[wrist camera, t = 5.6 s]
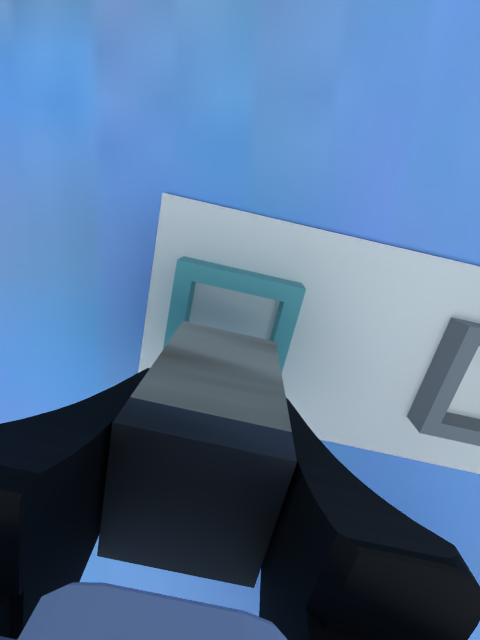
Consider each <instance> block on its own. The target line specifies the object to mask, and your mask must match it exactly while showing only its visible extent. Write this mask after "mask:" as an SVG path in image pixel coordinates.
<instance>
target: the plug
mask: <svg viewBox="0 0 480 640" xmlns="http://www.w3.org/2000/svg"><path fill="white" fill-rule="evenodd" d="M296 463H297V459H296V453H295V447H294V442H293V436H292V430H291V425H290V419H289V413H288V407H287V402H286V396H285V390H284V385H283V379H282V373H281V367H280V362H279V356H278V350H277V345H276V342H275V341H271V340H266V339H262V338H257V337H253V336H248V335H244V334H239V333H235V332H230V331H226V330H221V329H217V328H212V327H208V326H204V325H199V324H195V323H190V322H186V321H183V322H182V323H181V325H180V326H179V328H178V329H177V330H176V332H175V333H174V335H173V336H172V338H171V339H170V340H169V342H168V343H167V345H166V346H165V348H164V349H163V351H162V352H161V353H160V355H159V356H158V358H157V359H156V361H155V362H154V363H153V365H152V366H151V368H150V369H149V371H148V372H147V374H146V375H145V376H144V378H143V379H142V381H141V382H140V384H139V385H138V386H137V388H136V389H135V391H134V392H133V394H132V395H131V396H130V398H129V399H128V401H127V402H126V404H125V405H124V407H123V408H122V409H121V411H120V412H119V414H118V415H117V417H116V418H115V419H114V421H113V423H112V431H111V440H110V449H109V457H108V466H107V475H106V483H105V492H104V501H103V509H102V518H101V527H100V535H99V544H98V553H97V556H100V557H105V558H109V559H114V560H119V561H124V562H129V563H134V564H139V565H144V566H149V567H154V568H159V569H164V570H168V571H173V572H178V573H183V574H188V575H193V576H198V577H203V578H208V579H213V580H218V581H223V582H227V583H232V584H237V585H242V586H247V587H252V588H254V586H255V583H256V580H257V578H258V575H259V572H260V569H261V566H262V563H263V560H264V557H265V554H266V551H267V548H268V545H269V542H270V539H271V537H272V534H273V531H274V528H275V525H276V522H277V519H278V516H279V513H280V510H281V507H282V504H283V501H284V498H285V496H286V493H287V490H288V487H289V484H290V481H291V478H292V475H293V472H294V469H295V466H296Z"/></svg>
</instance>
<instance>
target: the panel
mask: <svg viewBox="0 0 480 640" xmlns="http://www.w3.org/2000/svg"><path fill="white" fill-rule="evenodd" d="M183 321H186V322H190V323H195V324H199V325H204V326H208V327H212V328H217V329H221V330H226V331H230V332H235V333H239V334H244V335H248V336H253V337H257V338H262V339H266V340H271V341H275V342H276V345H277V350H278V356H279V362H280V367H281V373H282V379H283V385H284V390H285V396H286V398H288V399H289V401H290V402H291V403H292V405H293V406H294V407H295V409H296V410H297V411H298V413H299V414H300V416H301V417H302V418H303V420H304V421H305V422H306V424H307V425H308V426H309V427H310V429H311V430H312V431H313V433H314V434H315V435H316V436H317V437H318V439H320V440H325V441H329V442H334V443H338V444H343V445H348V446H352V447H357V448H362V449H366V450H371V451H376V452H380V453H385V454H389V455H394V456H399V457H403V458H408V459H413V460H417V461H422V462H427V463H431V464H436V465H440V466H445V467H450V468H454V469H459V470H464V471H468V472H473V473H478V474H480V266H475V265H471V264H467V263H463V262H458V261H454V260H450V259H445V258H441V257H437V256H433V255H428V254H424V253H420V252H415V251H411V250H407V249H403V248H398V247H394V246H390V245H385V244H381V243H377V242H373V241H368V240H364V239H360V238H355V237H351V236H347V235H342V234H338V233H334V232H330V231H325V230H321V229H317V228H312V227H308V226H304V225H300V224H295V223H291V222H287V221H282V220H278V219H274V218H270V217H265V216H261V215H257V214H252V213H248V212H244V211H240V210H235V209H231V208H227V207H222V206H218V205H214V204H210V203H205V202H201V201H197V200H192V199H188V198H184V197H179V196H175V195H171V194H167V193H162V200H161V208H160V215H159V222H158V230H157V237H156V245H155V252H154V259H153V267H152V274H151V281H150V289H149V296H148V303H147V311H146V318H145V326H144V333H143V340H142V348H141V355H140V362H139V370H138V373H139V372H141V371H143V370H145V369H147V368H151V366H152V365H153V363H154V362H155V361H156V359H157V358H158V356H159V355H160V353H161V352H162V351H163V349H164V348H165V346H166V345H167V343H168V342H169V340H170V339H171V338H172V336H173V335H174V333H175V332H176V330H177V329H178V328H179V326H180V325H181V323H182V322H183Z"/></svg>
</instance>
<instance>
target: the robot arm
mask: <svg viewBox="0 0 480 640" xmlns="http://www.w3.org/2000/svg"><path fill="white" fill-rule="evenodd" d="M149 369H150V368H147V369H145V370H143V371H141V372H139V373H137V374H135V375H134V376H132V377H130V378H128V379H126V380H125V381H123V382H121V383H119V384H117V385H115V386H113V387H111V388H109V389H107V390H105V391H103V392H100V393H98V394H96V395H94V396H92V397H90V398H87V399H85V400H82V401H80V402H77V403H75V404H72V405H69V406H66V407H63V408H60V409H57V410H54V411H50V412H47V413H43V414H39V415H36V416H32V417H28V418H25V419H21V420H16V421H11V422H7V423H2V424H0V640H468V638H469V637H470V635H471V634H472V633H473V631H474V630H475V628H476V627H477V625H478V623H479V621H480V586H479V584H478V583H477V581H476V580H475V578H474V576H473V575H472V573H471V571H470V570H469V568H468V567H467V565H466V563H465V562H464V560H463V558H462V557H461V555H460V553H459V552H458V550H457V549H456V547H455V546H454V545H453V544H451V543H449V542H448V541H446V540H444V539H443V538H441V537H440V536H438V535H436V534H435V533H433V532H431V531H430V530H428V529H426V528H425V527H423V526H421V525H420V524H418V523H417V522H415V521H413V520H412V519H410V518H409V517H408V516H406V515H405V514H403V513H402V512H400V511H399V510H397V509H396V508H395V507H393V506H392V505H390V504H389V503H388V502H386V501H385V500H384V499H382V498H381V497H380V496H378V495H377V494H376V493H375V492H373V491H372V490H371V489H370V488H368V487H367V486H366V485H365V484H364V483H362V482H361V481H360V480H359V479H358V478H357V477H355V476H354V475H353V474H352V473H351V472H350V471H349V470H348V469H347V468H346V467H345V466H344V465H343V464H342V463H341V462H339V461H338V460H337V459H336V458H335V456H334V455H333V454H332V453H331V452H330V451H329V450H328V449H327V448H326V447H325V446H324V444H323V443H322V442H321V441H320V440H319V439H318V437H317V436H316V435H315V434H314V433H313V431H312V430H311V429H310V427H309V426H308V425H307V424H306V422H305V421H304V420H303V418H302V417H301V416H300V414H299V413H298V411H297V410H296V409H295V407H294V406H293V405H292V403H291V402H290V401H289V399H288V398H286V402H287V407H288V413H289V419H290V425H291V430H292V436H293V442H294V447H295V453H296V459H297V463H296V466H295V469H294V472H293V475H292V478H291V481H290V484H289V487H288V490H287V493H286V496H285V498H284V501H283V504H282V507H281V510H280V513H279V516H278V519H277V522H276V525H275V528H274V531H273V534H272V537H271V539H270V542H269V545H268V548H267V551H266V554H265V557H264V560H263V563H262V566H261V585H260V611H259V617H258V616H256V615H253V614H251V613H248V612H246V611H242V610H237V609H232V608H227V607H222V606H217V605H212V604H207V603H202V602H197V601H192V600H187V599H182V598H177V597H172V596H167V595H162V594H157V593H152V592H147V591H142V590H137V589H132V588H127V587H122V586H117V585H112V584H107V583H87V582H79V581H80V579H81V576H82V574H83V572H84V569H85V567H86V565H87V562H88V560H89V557H90V555H91V553H92V550H93V548H94V546H95V543H96V541H97V539H98V536H99V534H100V527H101V518H102V509H103V501H104V492H105V483H106V475H107V466H108V457H109V449H110V440H111V431H112V423H113V421H114V419H115V418H116V417H117V415H118V414H119V412H120V411H121V409H122V408H123V407H124V405H125V404H126V402H127V401H128V399H129V398H130V396H131V395H132V394H133V392H134V391H135V389H136V388H137V386H138V385H139V384H140V382H141V381H142V379H143V378H144V376H145V375H146V374H147V372H148V371H149Z"/></svg>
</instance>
